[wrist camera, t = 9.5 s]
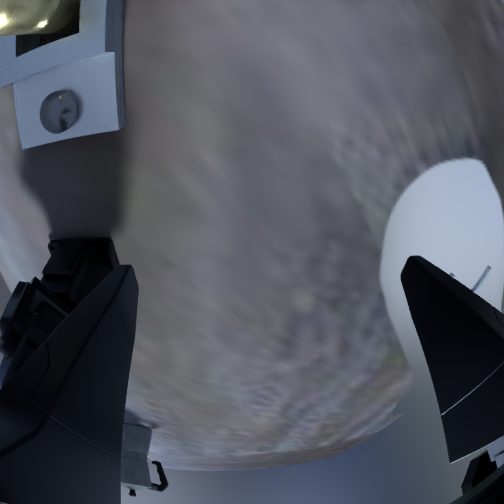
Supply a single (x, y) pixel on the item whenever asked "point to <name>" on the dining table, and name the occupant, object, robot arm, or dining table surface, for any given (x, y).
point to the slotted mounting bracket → (68, 77)
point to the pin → (39, 16)
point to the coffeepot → (138, 460)
